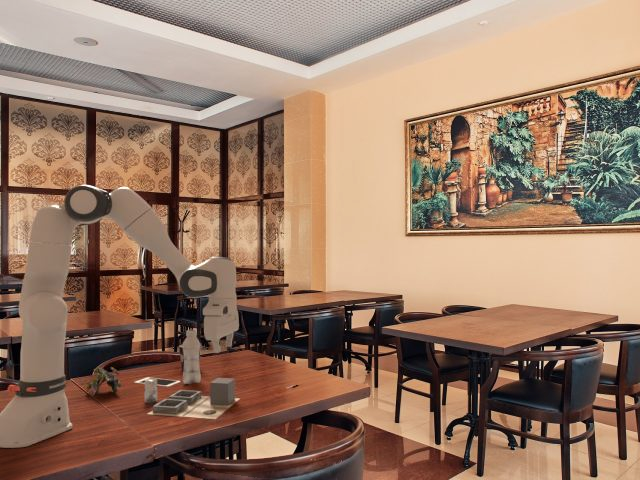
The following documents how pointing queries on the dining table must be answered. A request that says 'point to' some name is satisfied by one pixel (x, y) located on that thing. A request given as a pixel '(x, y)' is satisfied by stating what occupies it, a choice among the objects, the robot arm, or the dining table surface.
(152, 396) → the steel peg
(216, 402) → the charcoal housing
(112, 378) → the olive green irregular piece
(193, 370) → the plastic bottle
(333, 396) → the dining table surface
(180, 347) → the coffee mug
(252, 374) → the dining table surface
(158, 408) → the board
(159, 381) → the cell phone
